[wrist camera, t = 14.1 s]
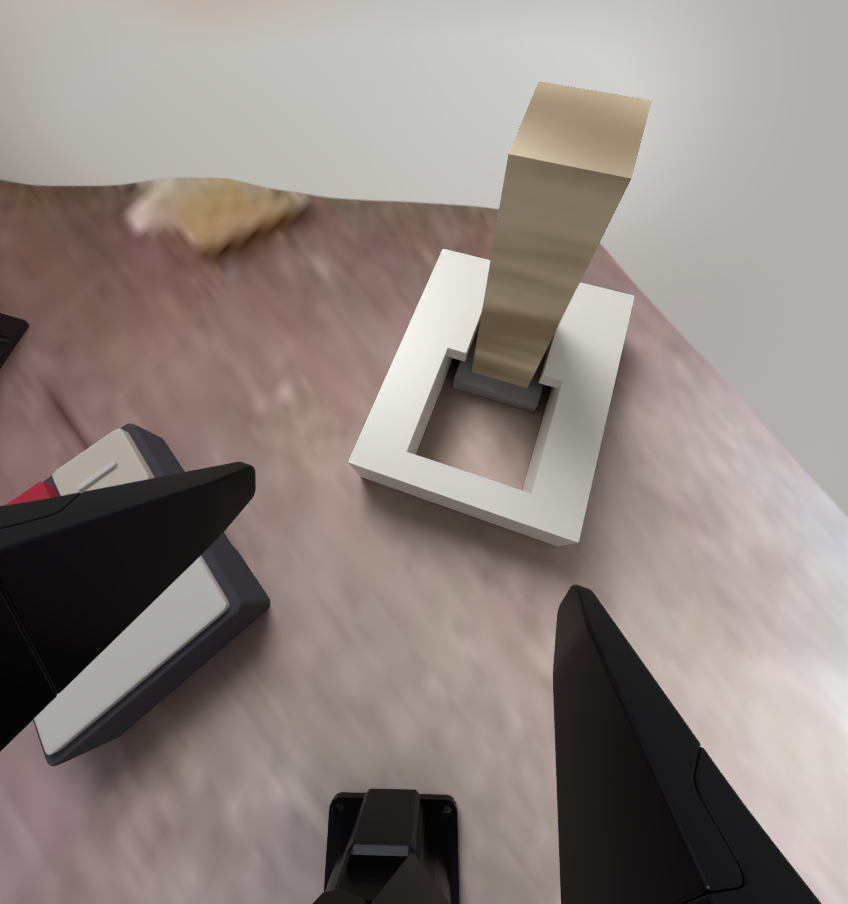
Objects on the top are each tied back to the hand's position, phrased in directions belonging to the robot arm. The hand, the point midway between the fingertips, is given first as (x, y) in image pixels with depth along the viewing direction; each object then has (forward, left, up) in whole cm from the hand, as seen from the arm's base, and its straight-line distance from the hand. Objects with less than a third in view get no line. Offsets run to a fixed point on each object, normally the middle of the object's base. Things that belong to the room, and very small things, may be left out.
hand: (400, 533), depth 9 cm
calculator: (-1, +18, -14) cm, 23 cm away
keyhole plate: (+11, -5, -14) cm, 18 cm away
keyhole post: (+13, -6, -14) cm, 20 cm away
